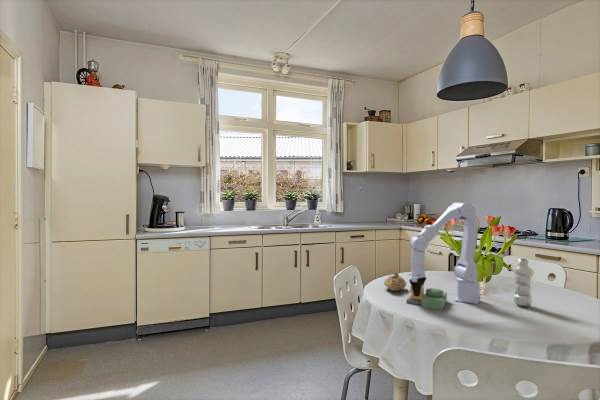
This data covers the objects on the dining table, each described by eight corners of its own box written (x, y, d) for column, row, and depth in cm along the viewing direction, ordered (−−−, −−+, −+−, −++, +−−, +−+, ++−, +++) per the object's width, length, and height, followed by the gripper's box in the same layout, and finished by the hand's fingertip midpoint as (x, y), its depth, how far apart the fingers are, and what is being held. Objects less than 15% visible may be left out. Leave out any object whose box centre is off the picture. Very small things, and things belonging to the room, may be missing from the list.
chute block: (423, 297, 160) (423, 284, 160) (421, 300, 157) (421, 286, 156) (412, 295, 163) (412, 282, 163) (410, 298, 159) (410, 285, 159)
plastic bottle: (523, 309, 149) (524, 261, 149) (510, 304, 155) (510, 258, 155) (535, 307, 151) (536, 260, 150) (521, 303, 157) (522, 257, 157)
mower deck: (446, 301, 160) (446, 288, 160) (441, 310, 148) (441, 295, 148) (412, 296, 168) (412, 283, 167) (404, 304, 156) (404, 290, 155)
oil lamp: (385, 294, 172) (385, 277, 172) (382, 286, 187) (382, 270, 187) (409, 294, 171) (409, 278, 170) (404, 286, 185) (404, 271, 185)
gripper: (412, 260, 167) (412, 289, 168) (404, 266, 155) (404, 297, 155) (428, 262, 164) (428, 291, 164) (421, 267, 151) (421, 299, 152)
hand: (417, 294), depth 159 cm, fingers closed on chute block, 4 cm apart
